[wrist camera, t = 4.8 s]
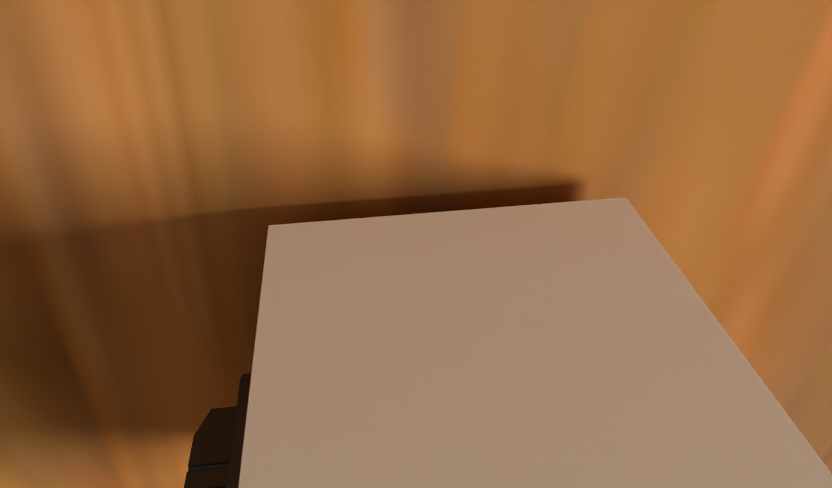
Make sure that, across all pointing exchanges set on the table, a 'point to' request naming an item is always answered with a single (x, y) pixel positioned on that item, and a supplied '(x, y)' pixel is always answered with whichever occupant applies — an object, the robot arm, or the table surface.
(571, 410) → the cream block
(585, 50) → the table surface
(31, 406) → the table surface
